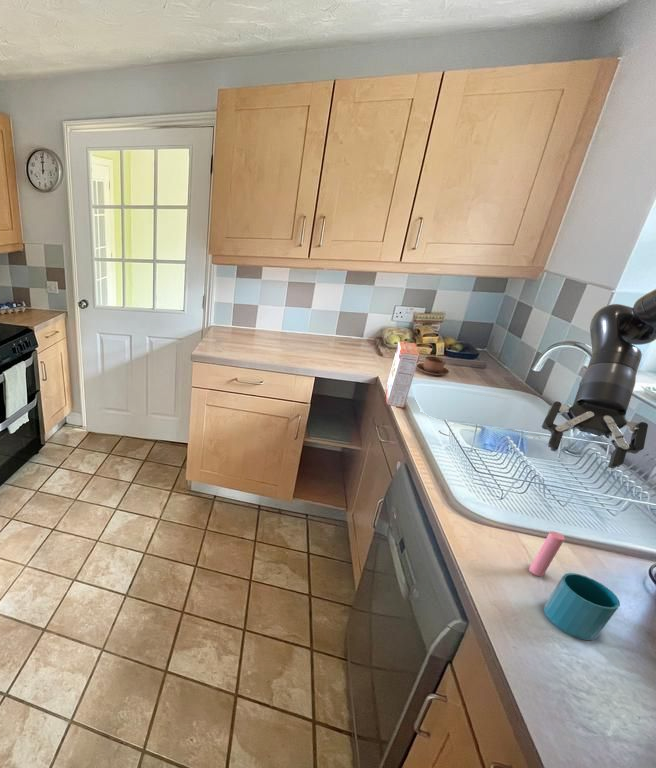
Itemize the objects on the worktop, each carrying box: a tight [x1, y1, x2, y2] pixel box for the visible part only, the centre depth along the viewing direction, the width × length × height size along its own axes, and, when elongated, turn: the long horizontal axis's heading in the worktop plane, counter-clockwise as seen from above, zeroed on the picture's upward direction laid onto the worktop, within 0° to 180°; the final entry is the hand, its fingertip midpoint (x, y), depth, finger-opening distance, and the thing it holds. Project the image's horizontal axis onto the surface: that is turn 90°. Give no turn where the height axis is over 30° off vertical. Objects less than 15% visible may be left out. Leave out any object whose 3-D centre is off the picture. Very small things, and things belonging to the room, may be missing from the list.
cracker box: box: [385, 341, 420, 409], centre depth 152 cm, size 14×6×21 cm, turn 154°
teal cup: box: [543, 572, 621, 641], centre depth 73 cm, size 7×7×8 cm
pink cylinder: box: [528, 530, 566, 577], centre depth 82 cm, size 2×2×10 cm
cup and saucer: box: [416, 356, 450, 376], centre depth 180 cm, size 12×12×6 cm
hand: (582, 458), depth 83 cm, fingers open, 8 cm apart
